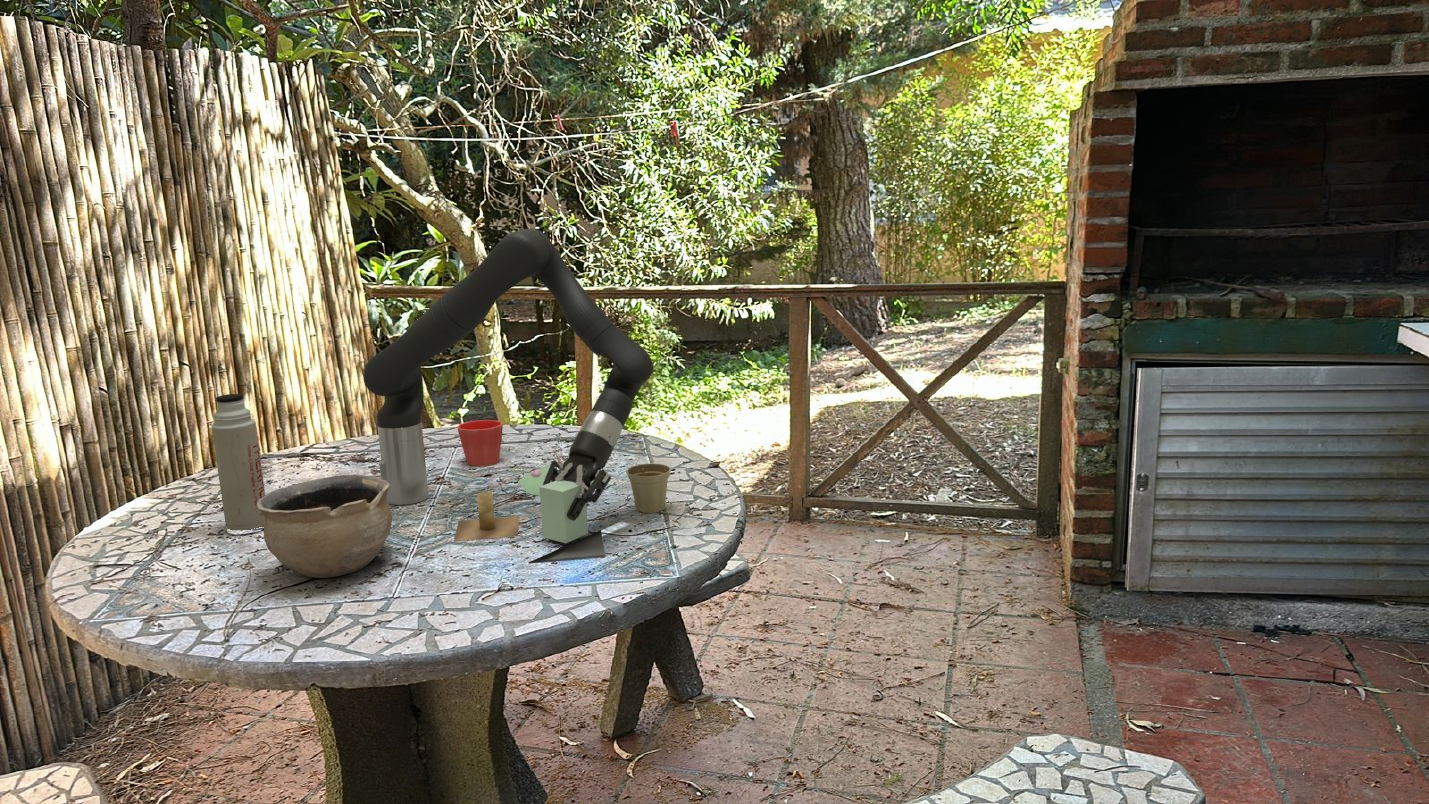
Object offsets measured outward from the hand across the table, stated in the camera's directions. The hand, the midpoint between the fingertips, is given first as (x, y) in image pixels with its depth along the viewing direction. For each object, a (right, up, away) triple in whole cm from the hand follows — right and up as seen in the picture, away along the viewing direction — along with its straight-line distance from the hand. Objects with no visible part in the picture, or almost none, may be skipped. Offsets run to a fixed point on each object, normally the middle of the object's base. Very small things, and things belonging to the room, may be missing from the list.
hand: (557, 515), depth 184 cm
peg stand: (-15, -5, +10) cm, 19 cm away
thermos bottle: (-66, -5, +18) cm, 69 cm away
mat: (+1, -6, +3) cm, 7 cm away
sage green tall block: (+1, -4, +2) cm, 5 cm away
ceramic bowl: (-40, -9, -5) cm, 41 cm away
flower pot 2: (+16, -2, +23) cm, 28 cm away
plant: (-6, +2, +43) cm, 43 cm away
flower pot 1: (-28, +6, +61) cm, 68 cm away
